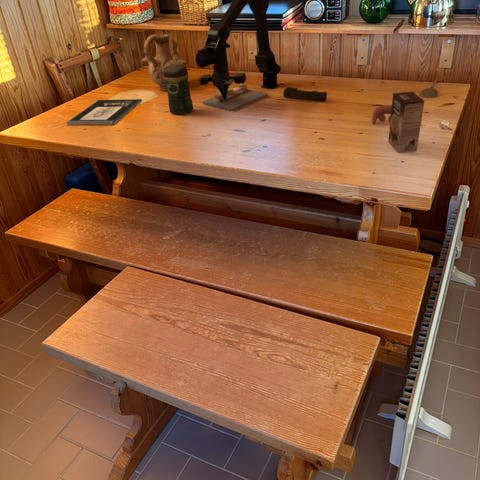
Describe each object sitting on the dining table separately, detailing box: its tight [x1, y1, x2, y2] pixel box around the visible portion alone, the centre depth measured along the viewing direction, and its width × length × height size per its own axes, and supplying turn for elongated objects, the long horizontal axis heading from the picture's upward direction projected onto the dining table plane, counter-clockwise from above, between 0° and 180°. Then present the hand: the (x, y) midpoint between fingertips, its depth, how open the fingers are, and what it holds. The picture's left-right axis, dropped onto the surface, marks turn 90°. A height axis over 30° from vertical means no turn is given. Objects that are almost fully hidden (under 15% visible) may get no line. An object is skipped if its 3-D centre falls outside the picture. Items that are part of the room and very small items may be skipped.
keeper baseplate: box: [202, 82, 269, 112], centre depth 197 cm, size 22×18×5 cm
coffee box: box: [387, 91, 425, 154], centre depth 143 cm, size 9×6×16 cm
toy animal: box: [371, 104, 392, 126], centre depth 163 cm, size 10×5×7 cm, turn 72°
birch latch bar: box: [212, 84, 248, 102], centre depth 200 cm, size 18×4×2 cm, turn 134°
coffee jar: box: [163, 65, 194, 115], centre depth 187 cm, size 10×8×19 cm
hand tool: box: [282, 87, 328, 103], centre depth 191 cm, size 19×4×5 cm, turn 58°
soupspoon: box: [419, 78, 440, 99], centre depth 188 cm, size 22×3×7 cm
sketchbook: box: [66, 98, 142, 127], centre depth 200 cm, size 22×30×2 cm
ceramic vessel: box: [141, 33, 187, 91], centre depth 214 cm, size 18×19×25 cm
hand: (225, 99), depth 195 cm, fingers closed
